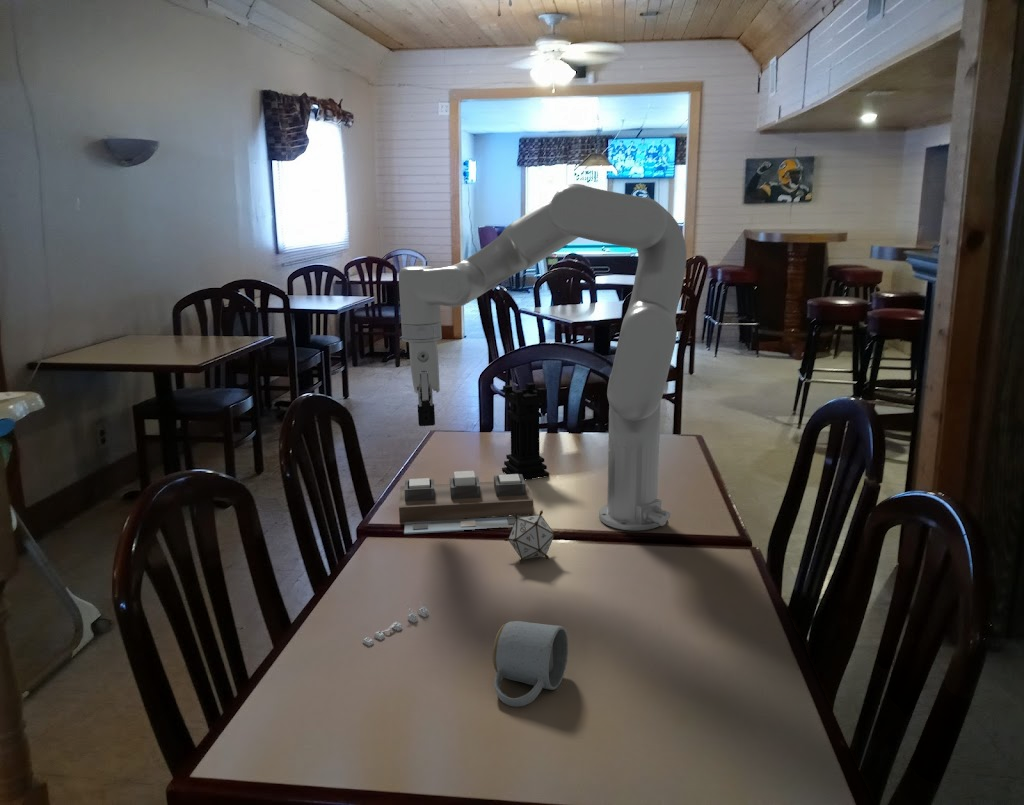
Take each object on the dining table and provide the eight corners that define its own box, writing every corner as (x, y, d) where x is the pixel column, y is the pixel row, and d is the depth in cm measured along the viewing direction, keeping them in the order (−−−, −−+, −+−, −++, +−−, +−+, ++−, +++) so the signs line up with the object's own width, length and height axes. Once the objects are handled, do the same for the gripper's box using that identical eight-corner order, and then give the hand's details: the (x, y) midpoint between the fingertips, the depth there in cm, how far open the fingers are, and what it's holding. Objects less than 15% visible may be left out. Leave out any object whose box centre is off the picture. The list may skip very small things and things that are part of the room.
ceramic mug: (511, 656, 109) (510, 605, 107) (569, 669, 106) (569, 616, 104) (479, 702, 99) (477, 647, 97) (542, 717, 96) (541, 660, 94)
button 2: (520, 491, 160) (520, 480, 160) (500, 492, 160) (500, 481, 159) (518, 485, 164) (518, 473, 164) (498, 486, 164) (498, 474, 163)
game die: (539, 581, 138) (552, 553, 131) (494, 561, 139) (504, 532, 131) (555, 540, 144) (569, 511, 136) (512, 522, 145) (522, 491, 137)
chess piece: (501, 471, 184) (500, 385, 179) (533, 466, 187) (532, 382, 182) (516, 481, 177) (515, 393, 172) (549, 476, 180) (549, 389, 175)
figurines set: (370, 650, 112) (369, 632, 111) (357, 643, 113) (356, 625, 113) (433, 615, 120) (432, 598, 120) (420, 609, 122) (419, 592, 121)
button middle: (475, 488, 159) (475, 477, 159) (455, 489, 159) (454, 478, 158) (474, 481, 163) (473, 470, 162) (454, 482, 163) (454, 471, 162)
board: (537, 526, 152) (537, 499, 150) (398, 534, 149) (397, 507, 148) (525, 493, 169) (525, 469, 168) (401, 499, 166) (399, 475, 165)
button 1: (430, 496, 159) (429, 484, 158) (409, 497, 158) (409, 485, 158) (429, 489, 162) (429, 478, 162) (409, 490, 162) (409, 479, 161)
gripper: (442, 337, 146) (447, 434, 150) (440, 325, 160) (444, 414, 165) (401, 339, 145) (407, 436, 150) (402, 327, 160) (407, 416, 164)
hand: (426, 424), depth 157 cm, fingers closed
